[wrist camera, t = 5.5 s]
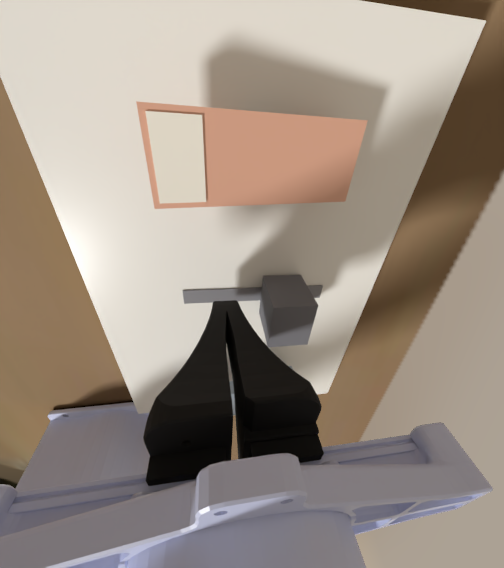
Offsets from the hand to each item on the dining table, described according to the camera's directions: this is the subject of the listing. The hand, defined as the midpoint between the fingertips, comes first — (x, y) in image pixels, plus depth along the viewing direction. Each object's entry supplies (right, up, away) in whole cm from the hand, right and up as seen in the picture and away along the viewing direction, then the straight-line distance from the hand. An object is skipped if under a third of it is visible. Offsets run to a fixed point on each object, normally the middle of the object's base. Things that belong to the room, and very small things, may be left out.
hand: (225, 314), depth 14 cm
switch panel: (+1, +2, +3) cm, 4 cm away
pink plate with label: (+2, +6, -5) cm, 8 cm away
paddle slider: (+3, +1, +2) cm, 4 cm away
